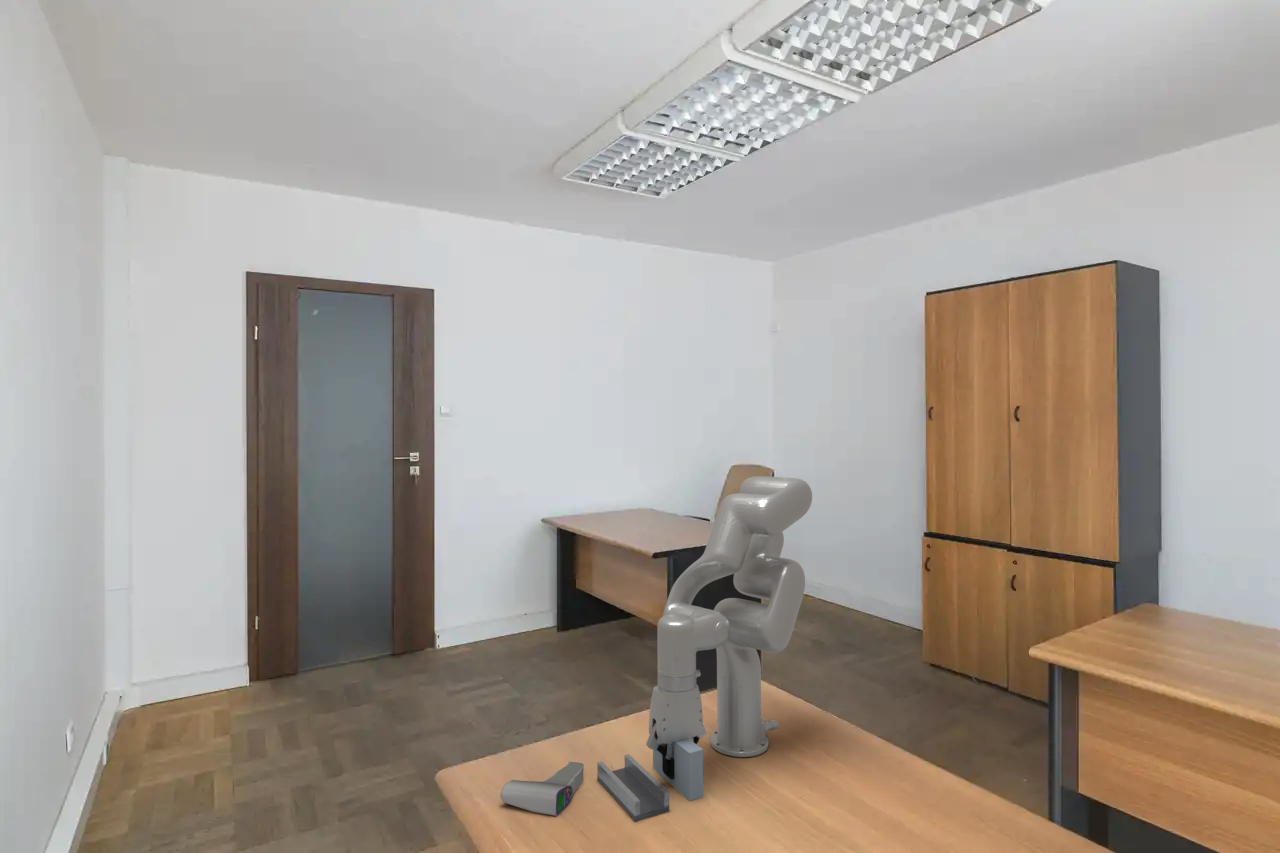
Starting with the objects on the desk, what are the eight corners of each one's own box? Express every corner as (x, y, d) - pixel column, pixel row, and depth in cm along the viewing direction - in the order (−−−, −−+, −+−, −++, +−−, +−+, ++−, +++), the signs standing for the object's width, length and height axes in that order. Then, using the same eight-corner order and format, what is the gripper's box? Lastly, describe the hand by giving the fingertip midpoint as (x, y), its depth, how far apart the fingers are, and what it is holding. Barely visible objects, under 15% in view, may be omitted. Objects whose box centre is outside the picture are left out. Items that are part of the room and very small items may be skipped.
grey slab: (652, 768, 140) (652, 723, 140) (665, 764, 141) (665, 720, 141) (689, 801, 127) (689, 753, 127) (703, 797, 129) (702, 749, 129)
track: (597, 780, 135) (597, 762, 135) (629, 771, 138) (628, 754, 138) (635, 821, 121) (634, 802, 121) (669, 811, 124) (669, 791, 124)
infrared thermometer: (588, 782, 136) (560, 820, 122) (532, 774, 140) (498, 810, 125) (588, 759, 137) (561, 793, 122) (532, 751, 140) (498, 784, 125)
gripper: (701, 667, 141) (701, 756, 141) (630, 681, 134) (631, 775, 134) (722, 679, 135) (722, 772, 135) (649, 694, 127) (649, 793, 127)
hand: (677, 772), depth 134 cm, fingers closed on grey slab, 3 cm apart
